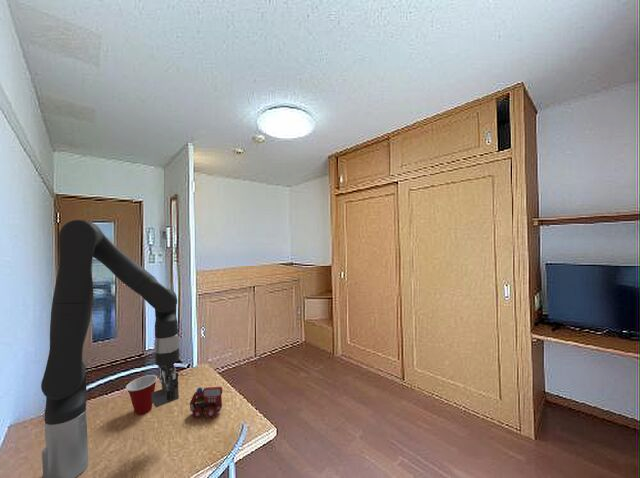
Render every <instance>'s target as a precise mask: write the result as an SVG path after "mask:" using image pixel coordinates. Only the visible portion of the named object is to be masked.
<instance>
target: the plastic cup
mask: <svg viewBox="0 0 640 478" xmlns="http://www.w3.org/2000/svg"><path fill="white" fill-rule="evenodd" d="M157 379H158V376H157V375H155V374H148V375H144V376H140V377H138V378H135V379H133V380H132V381H130V382H129V383H128V384H126V385H125V390H126V391H128V394H129V397H130V401H131V404H132V407H133V411H134V413H135V415H137V416H142V415H145V414H148V413H149V412H150V411H152V408H153V405H154V404H153V403H152V394H151V393H152V392H155V390H156V389H155V388H156V385H157Z"/></svg>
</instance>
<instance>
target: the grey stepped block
mask: <svg viewBox="0 0 640 478" xmlns="http://www.w3.org/2000/svg"><path fill="white" fill-rule="evenodd" d="M168 380H169V379H167V381H168ZM172 385H173V384H172ZM172 385H171V386H172ZM151 394H152V403H153V404H152V405H154V407H155V408H156V409H157V408H159V407H162V406H164V405H166V404H169V403H171V402H174V401H177V400H178V399H179V397H180V396H179V386H178V387H177V389H175V399H174V400H172V401H168V400H167V386H166V384H165V383H164V380H163V389H162V388H161V389H158V390H156V391H155V390H154V392H152V393H151Z"/></svg>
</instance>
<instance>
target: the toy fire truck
mask: <svg viewBox="0 0 640 478" xmlns="http://www.w3.org/2000/svg"><path fill="white" fill-rule="evenodd" d="M222 394H223V387H222V386H211V387H207V386H206V387H204V388H202V387H198V388H197V389H196V391H195V392H194V393H193V394H192V395H193V396H192V398H190V399H191V400H190V402H189V408H190V412H192V417H193V419H196V420H197V419H198V420H199V419H201V418H202V417H203V416H204V414H205V416H206V418H207V419H214V418H215V417H216V416H217V413H218V411H220V410H221V409H222V407H223V400H222Z"/></svg>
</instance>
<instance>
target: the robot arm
mask: <svg viewBox="0 0 640 478" xmlns="http://www.w3.org/2000/svg"><path fill="white" fill-rule="evenodd" d="M58 249H59V250H58V257H59V259H58V272H57V274H56V280H55V284H54V291H53V296H52V301H51V302H52V303H51V310H50V321H49V322H50V324H49V351H48V358H47V361H46V366H45V369H44V370H45V371H44V373H43V376H42V380H41V385H40V388H41V392H42V393H43V395H44V397H45V399H46V401H45V408H44V415H43V416H44V432H45V433H44V435H45V447H44V448H43V449H42V450H41V461H42V464H41V466H42V478H77V477H78V476H80V475H81V474H82V473H83V472H84V471H86V470H87V468H88V466H89V448H88V447H89V446H88V444H89V441H88V422H87V421H88V419H87V395H88V394H87V393H88V391H87V389H88V388H87V368H86V364H85V362H84V361H83V354H84V353H83V351H84V344H85V340H86V337H87V334H88V330H89V326H90V322H91V318H92V317H91V316H92V312H93V304H94V283H93V275H92V263H93V259H96V260H97V261H98V262H100V263H101V264H103V265H104V266H105V267H106V268H107V269H108V270H109V271H110V272H111V273H112V274H113V275H114V276H115V277H116V278H117V279H118V280H120V282H122V284H124V285H125V286H127V287H128V288H129V289H130V290H132V291H134V292H135V293H136V294H137V295H139V296H140V297H141V298H143V299H144V300H145V302H146V303H147V304H149V305H150V306H151V307H152V308H154V314H155V315H154V316H155V320H154V321H155V322H154V342H153V343H154V344H153V346H154V347H153V348H154V364H155V366H157V367H158V376H159V377H158V379H159V381H160V384H161V389H163V380H164V383H165V384H166V386H167V400H168V401H172V400H174V399H175V389H177V387H178V388H179V373H178V371H176V370H177V369H176V366H175V363H177V362H179V360H180V358H181V357H180V339H179V338H180V337H179V324H178V318H177V311H178V310H177V309H178V308H177V304H178V296H177V294H176V292H175V291H174V290H172V289H170V288H166V287H165V286H164V285H162V284H161V283H160V282H159V281H158V280H157V278H156V277H155V276H154V275H152V273H150V272H148V271H147V270H146V269H145V268H143V266H141V265H140V264H138V263H137V262H136V261H135V260H133V259H132V258H130V257H129V256H128V255H126V254H125V253H124V252H122V251H121V250H120V249H119V248H118V247H117V246H115V244H113V242H112V241H111V240H110V239H109V238H108V237H107V236H106V235H105V233H104V232H103V231H102V230H101V227H99V226H98V225H96V224H95V223H93V222H91V221H88V220H84V219H74V220H71V221H70V220H69V221H68V222H67V223H65V224H64V225H63V226H62V227H61V229H60V231H59V233H58ZM167 379H169V380H168V381H167ZM172 384H173V385H172ZM171 385H172V386H171ZM174 401H175V400H174ZM172 402H173V401H172Z"/></svg>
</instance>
